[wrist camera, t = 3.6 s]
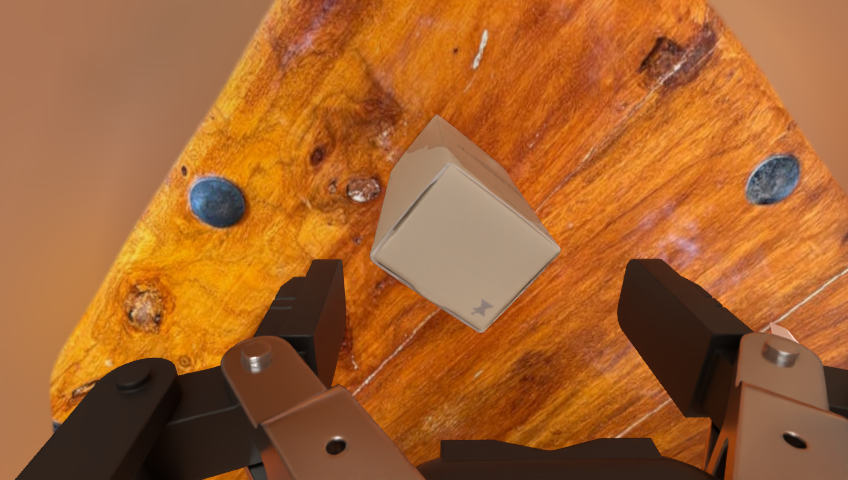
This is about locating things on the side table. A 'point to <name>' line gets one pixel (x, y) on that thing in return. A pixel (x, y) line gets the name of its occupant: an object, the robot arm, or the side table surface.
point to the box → (459, 228)
